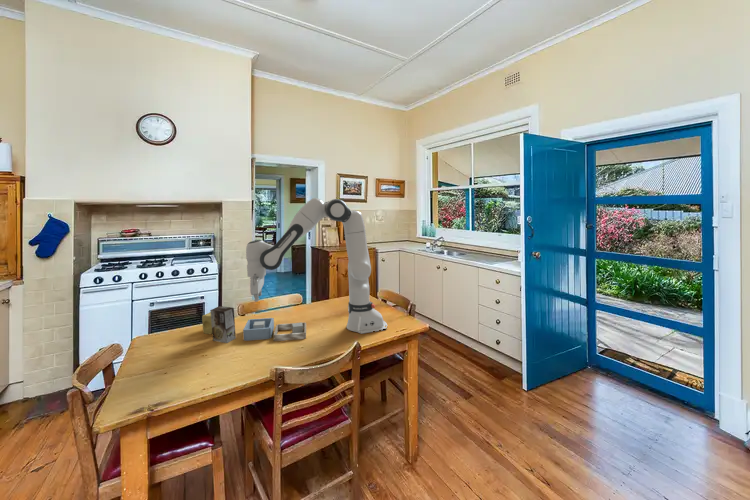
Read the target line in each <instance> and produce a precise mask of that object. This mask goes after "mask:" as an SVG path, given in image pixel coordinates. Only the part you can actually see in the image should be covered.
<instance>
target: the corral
mask: <svg viewBox="0 0 750 500" xmlns="http://www.w3.org/2000/svg"><path fill="white" fill-rule="evenodd" d="M292 323H293V322H292ZM292 323H278V324H276V326H275V327H274V328H275V329H274V331H273V342H281V341H293V340H304V339H307V322H302V324H303V333H282V334H281V333H280V334H278V332H279V331H285V330H287V331H288V330H292Z"/></svg>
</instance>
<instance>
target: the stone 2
mask: <svg viewBox="0 0 750 500" xmlns="http://www.w3.org/2000/svg"><path fill="white" fill-rule="evenodd" d="M302 323H303V322H296V323H295V322H292V329H291V330H292V331H291V332H292V333H304V328H303V324H302Z"/></svg>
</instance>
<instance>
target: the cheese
mask: <svg viewBox="0 0 750 500" xmlns="http://www.w3.org/2000/svg"><path fill="white" fill-rule="evenodd" d="M201 317H202V318H201V319H202V320H201V321H202V332H203V334H206V335H213V334H212V323H211V313H210V312H208V313H205V314H203V315H202V316H201Z"/></svg>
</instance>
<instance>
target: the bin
mask: <svg viewBox="0 0 750 500" xmlns="http://www.w3.org/2000/svg"><path fill="white" fill-rule="evenodd" d="M258 321H265V328H257V329H253V325H254V322H258ZM274 328H275V320H274V317H267V318H266V317H264V318H263V317H262V318H251V319H248V320H247V321H246V324H245V325H244V327H243V330H242V331H243V332H242V334H243V341H259V340H269V339H272V338H273V337H272V336H273V334H274V331H275V329H274Z"/></svg>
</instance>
